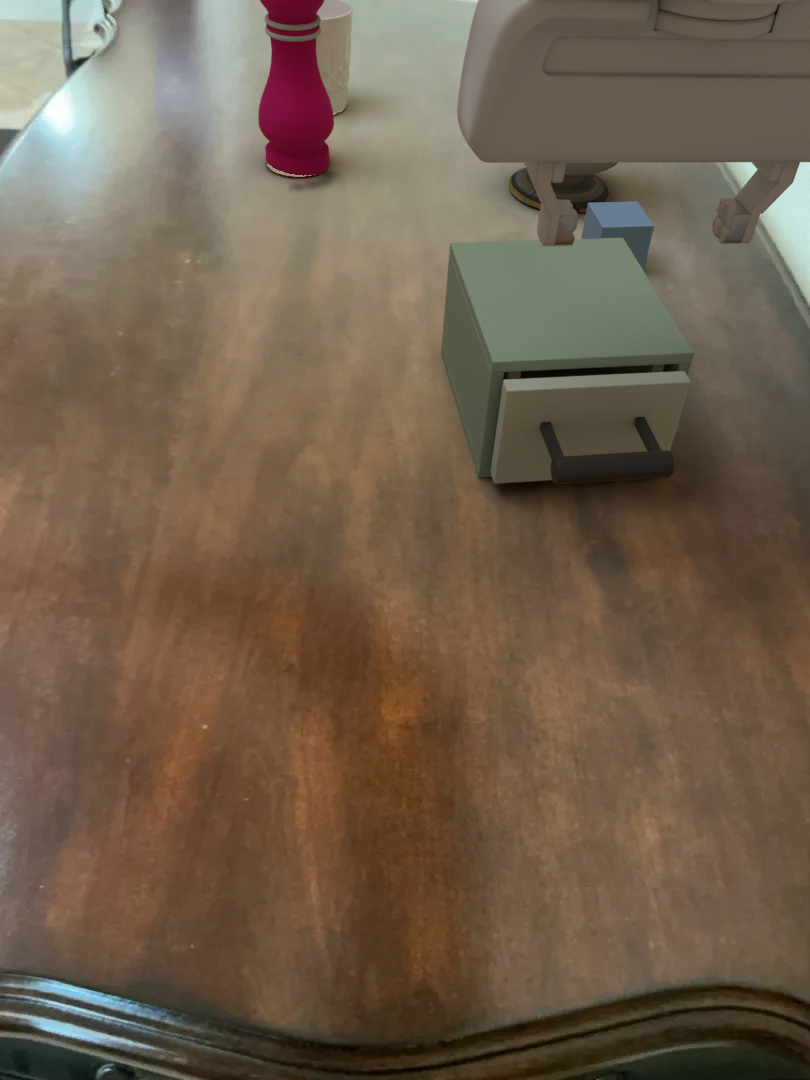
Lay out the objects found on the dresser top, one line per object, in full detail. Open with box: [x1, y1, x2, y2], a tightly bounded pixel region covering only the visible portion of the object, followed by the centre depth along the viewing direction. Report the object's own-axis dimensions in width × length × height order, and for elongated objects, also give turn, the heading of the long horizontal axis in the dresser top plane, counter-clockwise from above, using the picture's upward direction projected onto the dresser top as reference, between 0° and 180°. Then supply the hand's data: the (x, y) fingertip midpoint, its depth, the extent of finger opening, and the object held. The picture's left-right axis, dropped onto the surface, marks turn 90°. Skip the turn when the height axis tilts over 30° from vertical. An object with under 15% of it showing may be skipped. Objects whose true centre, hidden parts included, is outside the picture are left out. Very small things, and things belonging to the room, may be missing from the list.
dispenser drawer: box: [490, 365, 692, 485], centre depth 63 cm, size 18×11×7 cm, turn 8°
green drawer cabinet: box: [440, 238, 695, 479], centre depth 67 cm, size 15×13×9 cm
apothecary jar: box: [508, 162, 620, 214], centre depth 89 cm, size 12×12×18 cm
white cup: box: [316, 0, 354, 116], centre depth 104 cm, size 8×8×10 cm
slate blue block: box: [580, 201, 655, 272], centre depth 84 cm, size 4×4×4 cm
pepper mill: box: [258, 0, 335, 179], centre depth 90 cm, size 7×7×20 cm
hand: (643, 240), depth 50 cm, fingers open, 8 cm apart
